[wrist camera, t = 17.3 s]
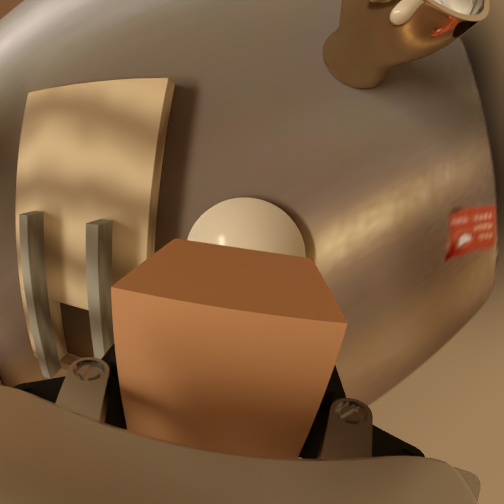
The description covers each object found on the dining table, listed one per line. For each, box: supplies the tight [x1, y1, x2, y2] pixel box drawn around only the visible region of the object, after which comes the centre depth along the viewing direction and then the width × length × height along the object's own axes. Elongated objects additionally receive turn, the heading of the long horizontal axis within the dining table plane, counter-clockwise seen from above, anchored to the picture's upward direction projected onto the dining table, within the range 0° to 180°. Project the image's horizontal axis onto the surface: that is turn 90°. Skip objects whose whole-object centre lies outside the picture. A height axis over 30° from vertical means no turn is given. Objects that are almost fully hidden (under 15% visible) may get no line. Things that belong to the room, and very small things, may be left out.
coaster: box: [187, 197, 306, 257], centre depth 25 cm, size 10×10×1 cm
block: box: [111, 238, 348, 458], centre depth 9 cm, size 6×5×5 cm
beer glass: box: [323, 0, 489, 89], centre depth 13 cm, size 7×7×15 cm
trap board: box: [16, 78, 175, 379], centre depth 23 cm, size 30×16×4 cm, turn 172°
